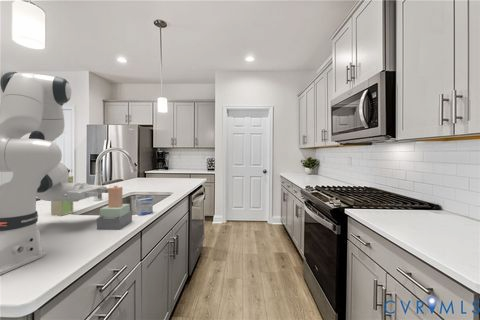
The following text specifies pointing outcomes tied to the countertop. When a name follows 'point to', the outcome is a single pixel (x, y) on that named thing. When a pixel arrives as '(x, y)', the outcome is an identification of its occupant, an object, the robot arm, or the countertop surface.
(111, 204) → the orange knobbed block
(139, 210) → the medicine box
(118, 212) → the green-topped grey pedestal
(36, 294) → the countertop surface
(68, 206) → the toy refrigerator
